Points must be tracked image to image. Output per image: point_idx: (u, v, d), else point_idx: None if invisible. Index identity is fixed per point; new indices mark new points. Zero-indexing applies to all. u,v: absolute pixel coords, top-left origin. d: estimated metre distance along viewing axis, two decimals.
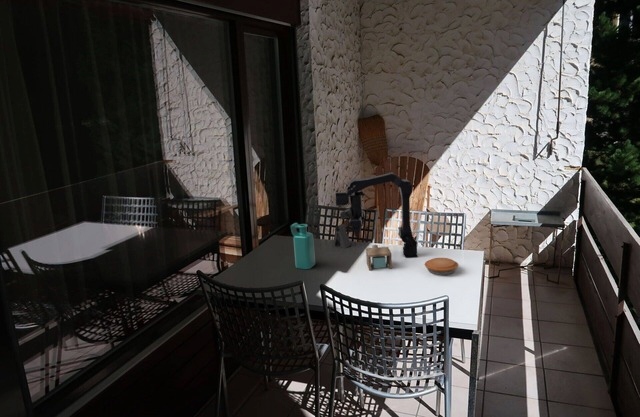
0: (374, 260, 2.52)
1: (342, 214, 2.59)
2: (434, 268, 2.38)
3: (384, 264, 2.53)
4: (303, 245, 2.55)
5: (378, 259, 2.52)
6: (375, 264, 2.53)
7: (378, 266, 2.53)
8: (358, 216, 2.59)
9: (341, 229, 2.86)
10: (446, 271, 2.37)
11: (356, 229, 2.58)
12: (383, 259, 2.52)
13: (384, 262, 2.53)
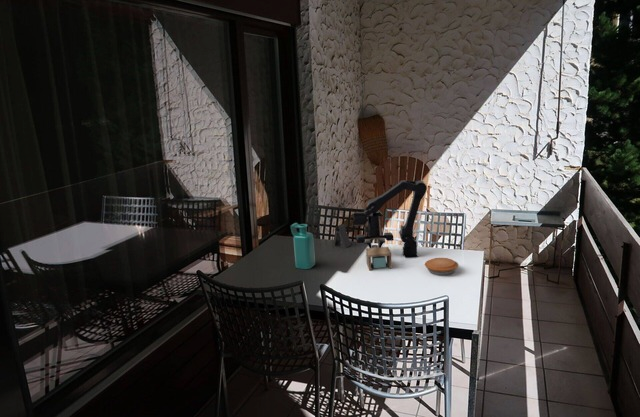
0: (374, 260, 2.52)
1: (364, 228, 2.72)
2: (434, 268, 2.38)
3: (384, 264, 2.53)
4: (303, 245, 2.55)
5: (378, 259, 2.52)
6: (375, 264, 2.53)
7: (378, 266, 2.53)
8: (369, 236, 2.65)
9: (341, 229, 2.86)
10: (446, 271, 2.37)
11: None
12: (383, 259, 2.52)
13: (384, 262, 2.53)
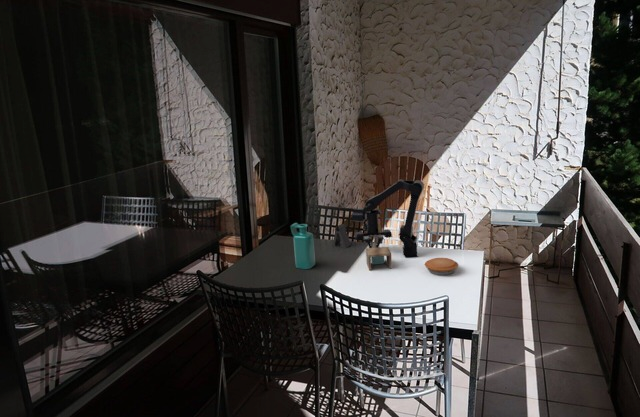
0: None
1: (363, 226, 2.77)
2: (434, 268, 2.38)
3: (382, 260, 2.58)
4: (303, 245, 2.55)
5: None
6: (374, 260, 2.58)
7: (377, 262, 2.58)
8: (368, 233, 2.70)
9: (341, 229, 2.86)
10: (446, 271, 2.37)
11: None
12: None
13: (382, 258, 2.58)
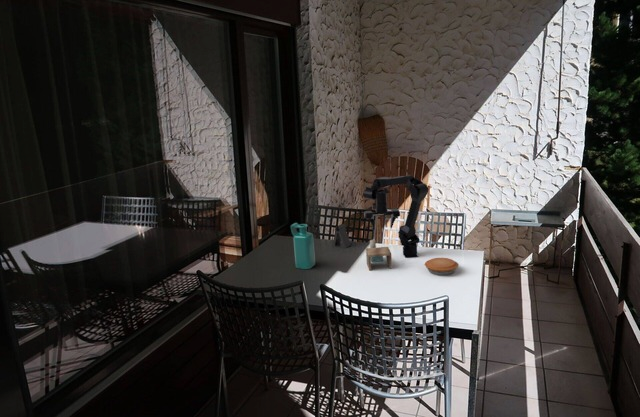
0: None
1: (372, 205, 2.82)
2: (434, 268, 2.38)
3: (381, 258, 2.62)
4: (303, 245, 2.55)
5: None
6: (373, 258, 2.61)
7: (376, 260, 2.62)
8: (377, 212, 2.75)
9: (341, 229, 2.86)
10: (446, 271, 2.37)
11: None
12: None
13: (381, 256, 2.61)
